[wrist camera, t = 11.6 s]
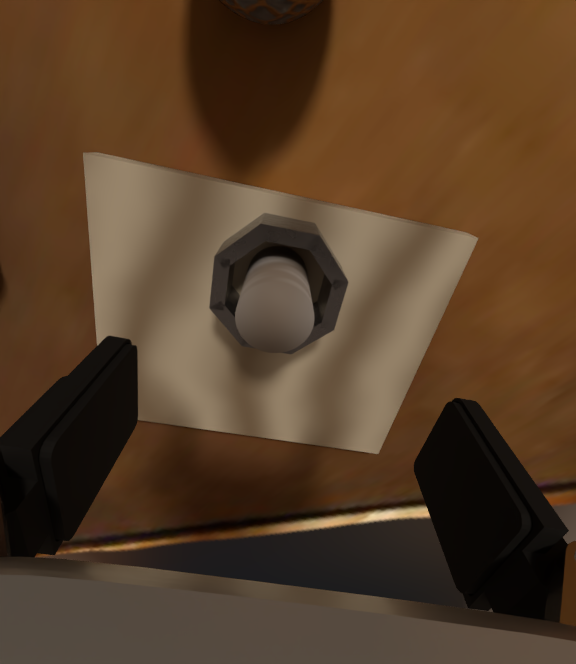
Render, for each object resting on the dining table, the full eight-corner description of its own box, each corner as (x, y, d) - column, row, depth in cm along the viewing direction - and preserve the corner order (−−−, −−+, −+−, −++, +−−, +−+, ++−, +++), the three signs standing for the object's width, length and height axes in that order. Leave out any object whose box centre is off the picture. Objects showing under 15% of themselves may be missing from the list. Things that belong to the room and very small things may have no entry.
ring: (350, 230, 20) (360, 243, 17) (320, 335, 23) (325, 359, 20) (227, 205, 19) (218, 214, 16) (215, 317, 22) (206, 340, 20)
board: (466, 232, 21) (548, 271, 15) (373, 440, 30) (399, 524, 23) (97, 152, 19) (-4, 156, 12) (111, 401, 27) (55, 483, 21)
